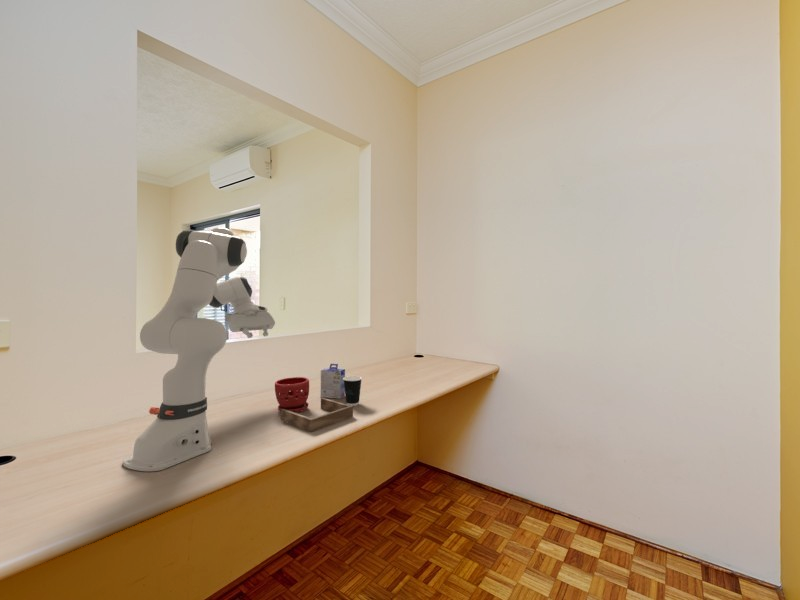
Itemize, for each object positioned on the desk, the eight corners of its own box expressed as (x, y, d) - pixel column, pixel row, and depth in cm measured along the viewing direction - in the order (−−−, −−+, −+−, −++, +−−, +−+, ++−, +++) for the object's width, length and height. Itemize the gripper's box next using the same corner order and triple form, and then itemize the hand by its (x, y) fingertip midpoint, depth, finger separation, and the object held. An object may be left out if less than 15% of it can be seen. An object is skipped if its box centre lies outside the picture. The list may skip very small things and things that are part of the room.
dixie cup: (359, 400, 159) (359, 375, 159) (364, 405, 151) (364, 379, 151) (341, 402, 156) (341, 376, 156) (345, 407, 149) (345, 380, 148)
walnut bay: (281, 420, 134) (281, 409, 134) (323, 407, 149) (323, 397, 149) (311, 432, 123) (311, 420, 123) (352, 416, 138) (353, 406, 138)
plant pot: (303, 403, 155) (303, 374, 154) (313, 412, 144) (313, 381, 143) (271, 408, 148) (271, 378, 148) (279, 418, 137) (279, 385, 136)
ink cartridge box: (345, 395, 166) (345, 363, 166) (341, 399, 161) (341, 366, 161) (325, 394, 168) (325, 362, 168) (320, 397, 163) (320, 365, 163)
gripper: (226, 308, 157) (238, 333, 151) (269, 307, 173) (281, 329, 167) (221, 318, 159) (232, 343, 154) (264, 316, 175) (276, 338, 170)
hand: (258, 336), depth 160 cm, fingers open, 6 cm apart
